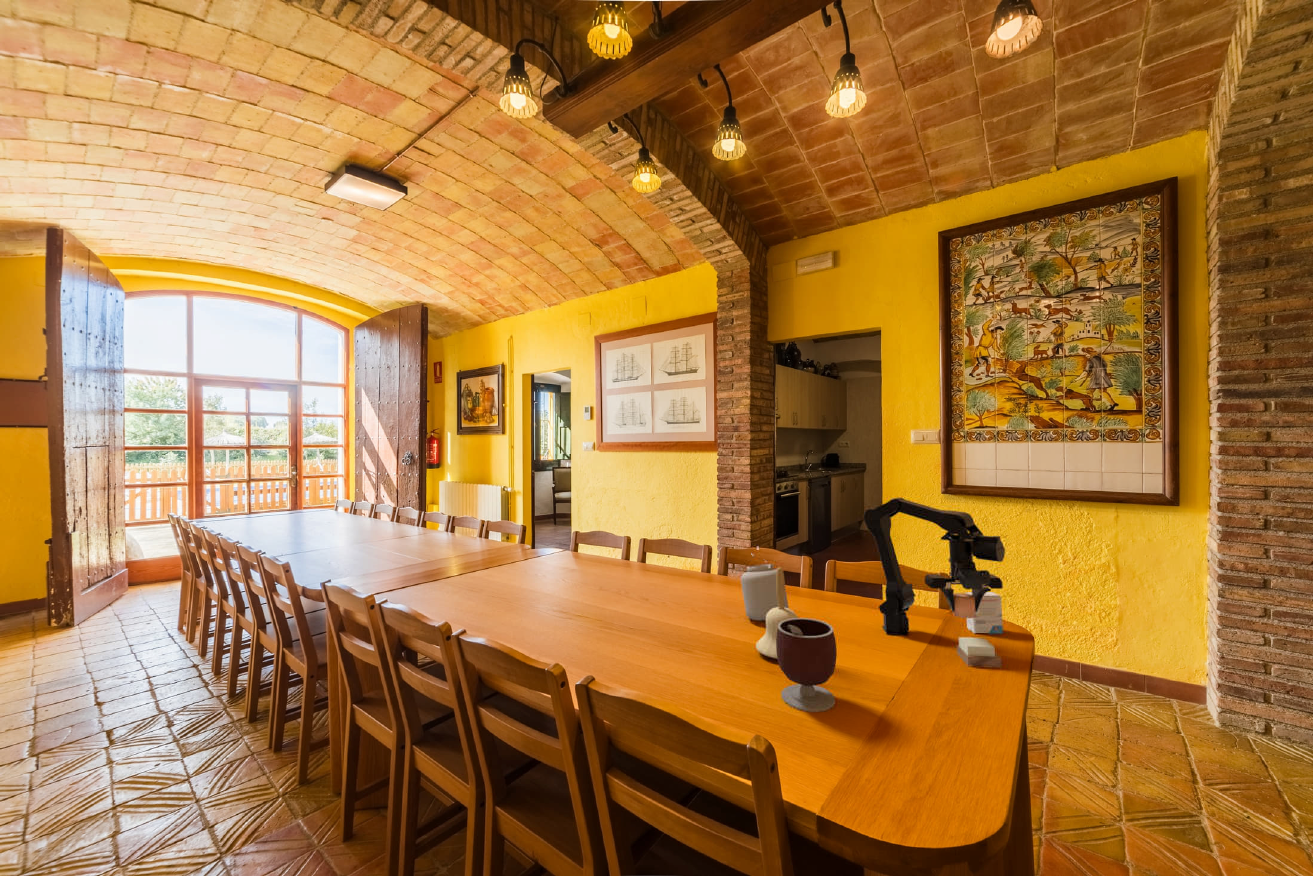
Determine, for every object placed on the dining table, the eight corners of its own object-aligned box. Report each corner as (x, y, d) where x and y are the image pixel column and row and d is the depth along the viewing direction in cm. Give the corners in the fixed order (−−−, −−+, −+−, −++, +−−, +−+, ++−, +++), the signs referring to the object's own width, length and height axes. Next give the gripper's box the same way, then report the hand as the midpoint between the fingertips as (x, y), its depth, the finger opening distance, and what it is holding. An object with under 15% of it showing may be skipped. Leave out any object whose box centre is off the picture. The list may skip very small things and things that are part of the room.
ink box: (994, 628, 164) (993, 591, 164) (1003, 634, 159) (1001, 595, 159) (966, 628, 165) (964, 591, 165) (974, 634, 160) (972, 595, 160)
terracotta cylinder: (957, 618, 146) (956, 598, 146) (950, 611, 151) (949, 593, 151) (979, 618, 145) (978, 598, 145) (970, 612, 150) (969, 593, 150)
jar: (730, 614, 186) (727, 545, 186) (762, 607, 193) (760, 540, 193) (764, 630, 169) (761, 554, 169) (798, 622, 176) (795, 548, 176)
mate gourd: (793, 680, 133) (790, 602, 134) (847, 695, 125) (843, 612, 125) (764, 704, 121) (761, 619, 122) (822, 723, 113) (818, 631, 113)
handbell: (766, 640, 161) (763, 559, 161) (815, 648, 153) (812, 564, 153) (748, 658, 148) (745, 571, 148) (801, 669, 140) (798, 576, 140)
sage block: (968, 655, 139) (967, 646, 139) (959, 646, 145) (958, 637, 145) (994, 656, 138) (994, 647, 138) (984, 647, 144) (984, 638, 144)
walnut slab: (968, 668, 138) (968, 656, 138) (957, 656, 146) (956, 645, 146) (1001, 669, 137) (1001, 658, 137) (988, 657, 144) (987, 646, 144)
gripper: (936, 563, 142) (939, 620, 141) (1011, 562, 139) (1014, 621, 138) (922, 554, 153) (925, 607, 152) (991, 554, 150) (994, 608, 149)
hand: (964, 611), depth 148 cm, fingers closed on terracotta cylinder, 5 cm apart
